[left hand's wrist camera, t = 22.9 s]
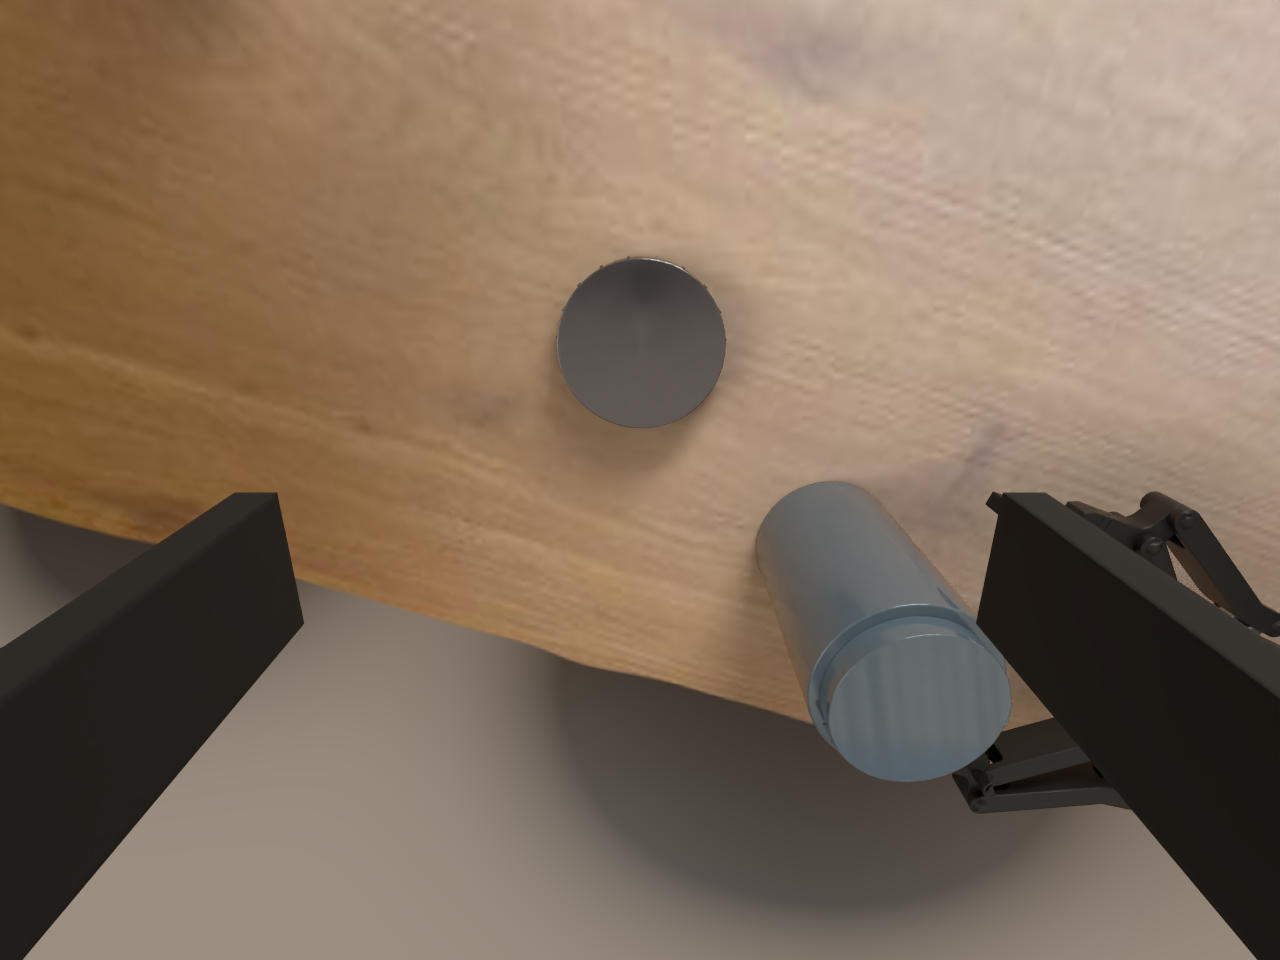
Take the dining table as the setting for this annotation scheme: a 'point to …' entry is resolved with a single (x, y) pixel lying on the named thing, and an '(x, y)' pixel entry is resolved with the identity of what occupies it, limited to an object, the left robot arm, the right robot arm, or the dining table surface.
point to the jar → (879, 637)
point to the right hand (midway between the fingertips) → (933, 619)
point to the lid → (641, 342)
